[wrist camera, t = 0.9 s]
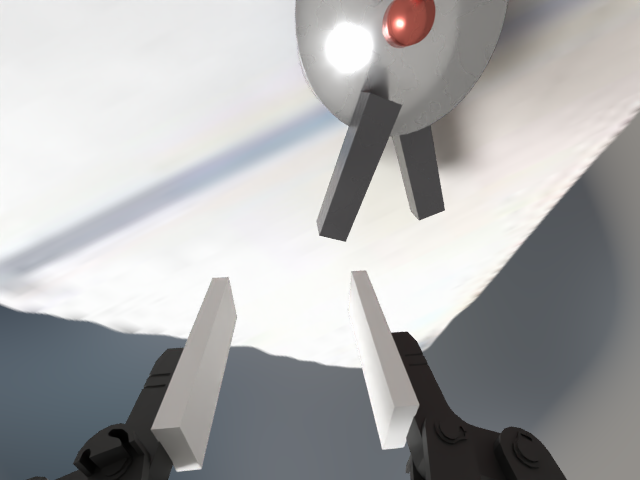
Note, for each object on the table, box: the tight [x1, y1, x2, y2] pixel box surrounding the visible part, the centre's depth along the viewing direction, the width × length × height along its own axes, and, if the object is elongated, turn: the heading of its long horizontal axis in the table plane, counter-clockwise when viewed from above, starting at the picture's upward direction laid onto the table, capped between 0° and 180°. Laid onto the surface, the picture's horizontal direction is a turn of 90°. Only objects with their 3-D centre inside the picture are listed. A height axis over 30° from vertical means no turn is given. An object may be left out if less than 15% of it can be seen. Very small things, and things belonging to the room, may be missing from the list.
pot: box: [297, 45, 445, 220], centre depth 26 cm, size 30×15×10 cm, turn 22°
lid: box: [295, 0, 508, 242], centre depth 21 cm, size 25×16×4 cm, turn 162°
